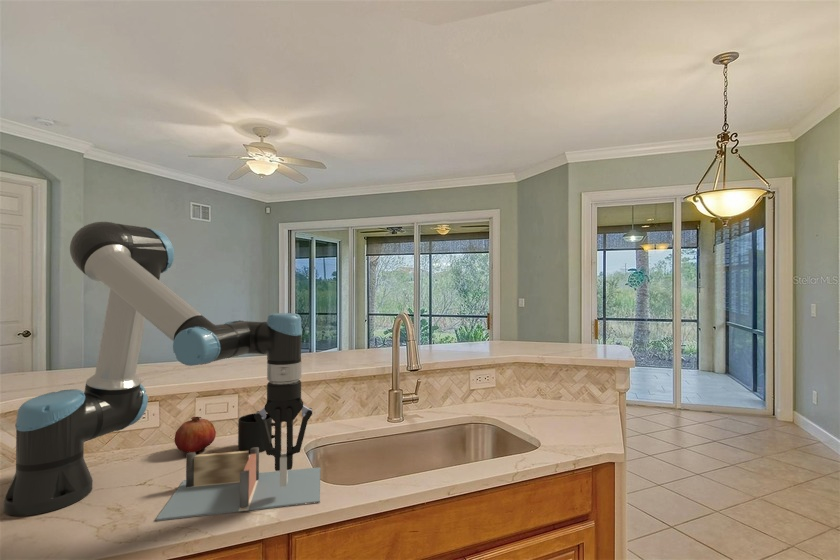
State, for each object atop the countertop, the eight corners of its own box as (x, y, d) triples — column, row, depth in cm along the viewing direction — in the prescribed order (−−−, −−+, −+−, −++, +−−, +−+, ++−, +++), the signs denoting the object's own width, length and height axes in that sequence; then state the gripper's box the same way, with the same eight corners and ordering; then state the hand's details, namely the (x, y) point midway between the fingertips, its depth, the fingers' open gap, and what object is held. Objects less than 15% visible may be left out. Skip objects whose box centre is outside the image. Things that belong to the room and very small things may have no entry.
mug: (279, 451, 124) (279, 420, 124) (235, 455, 121) (235, 423, 121) (281, 439, 133) (281, 411, 133) (240, 443, 130) (241, 414, 130)
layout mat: (154, 522, 86) (154, 520, 86) (184, 481, 104) (184, 479, 104) (319, 503, 94) (319, 501, 94) (320, 468, 112) (320, 466, 112)
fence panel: (249, 481, 103) (249, 451, 103) (257, 480, 103) (257, 451, 104) (238, 508, 90) (239, 474, 91) (247, 507, 91) (247, 473, 91)
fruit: (217, 443, 130) (217, 410, 130) (212, 455, 121) (213, 420, 121) (178, 447, 127) (179, 413, 127) (170, 460, 117) (171, 424, 117)
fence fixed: (184, 489, 100) (185, 455, 100) (187, 485, 102) (187, 452, 102) (258, 482, 104) (258, 449, 104) (259, 478, 106) (259, 446, 106)
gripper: (251, 385, 92) (250, 494, 91) (313, 382, 94) (312, 488, 94) (256, 378, 99) (256, 479, 99) (313, 375, 102) (313, 473, 101)
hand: (283, 483), depth 96 cm, fingers closed
